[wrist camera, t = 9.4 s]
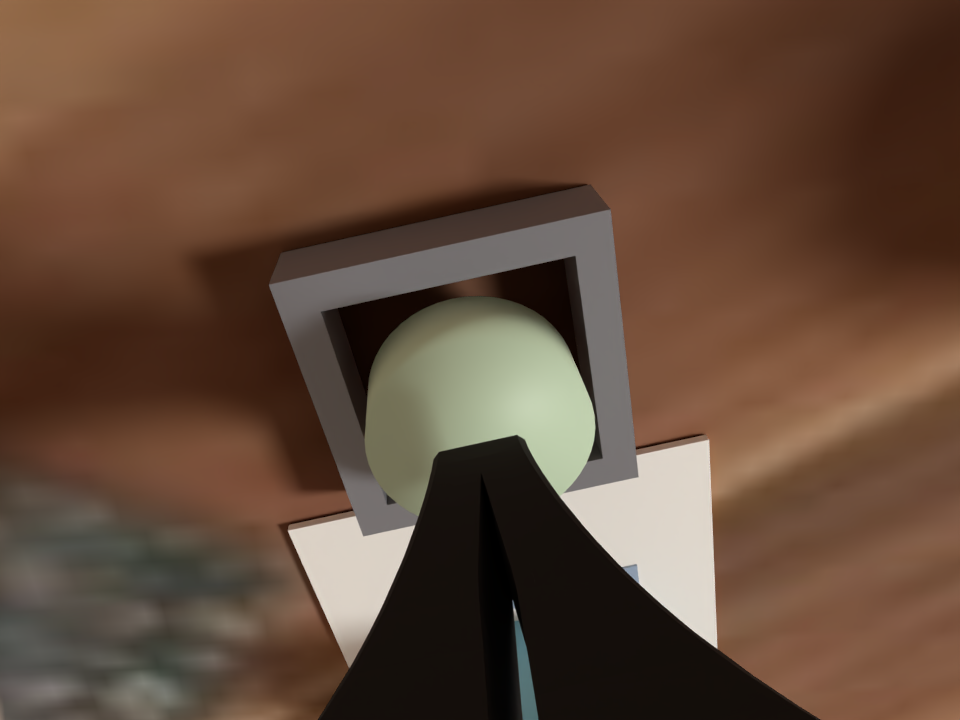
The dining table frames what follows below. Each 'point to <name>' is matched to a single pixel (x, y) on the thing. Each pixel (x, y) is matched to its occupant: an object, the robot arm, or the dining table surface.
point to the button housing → (442, 260)
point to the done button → (474, 394)
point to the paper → (601, 510)
